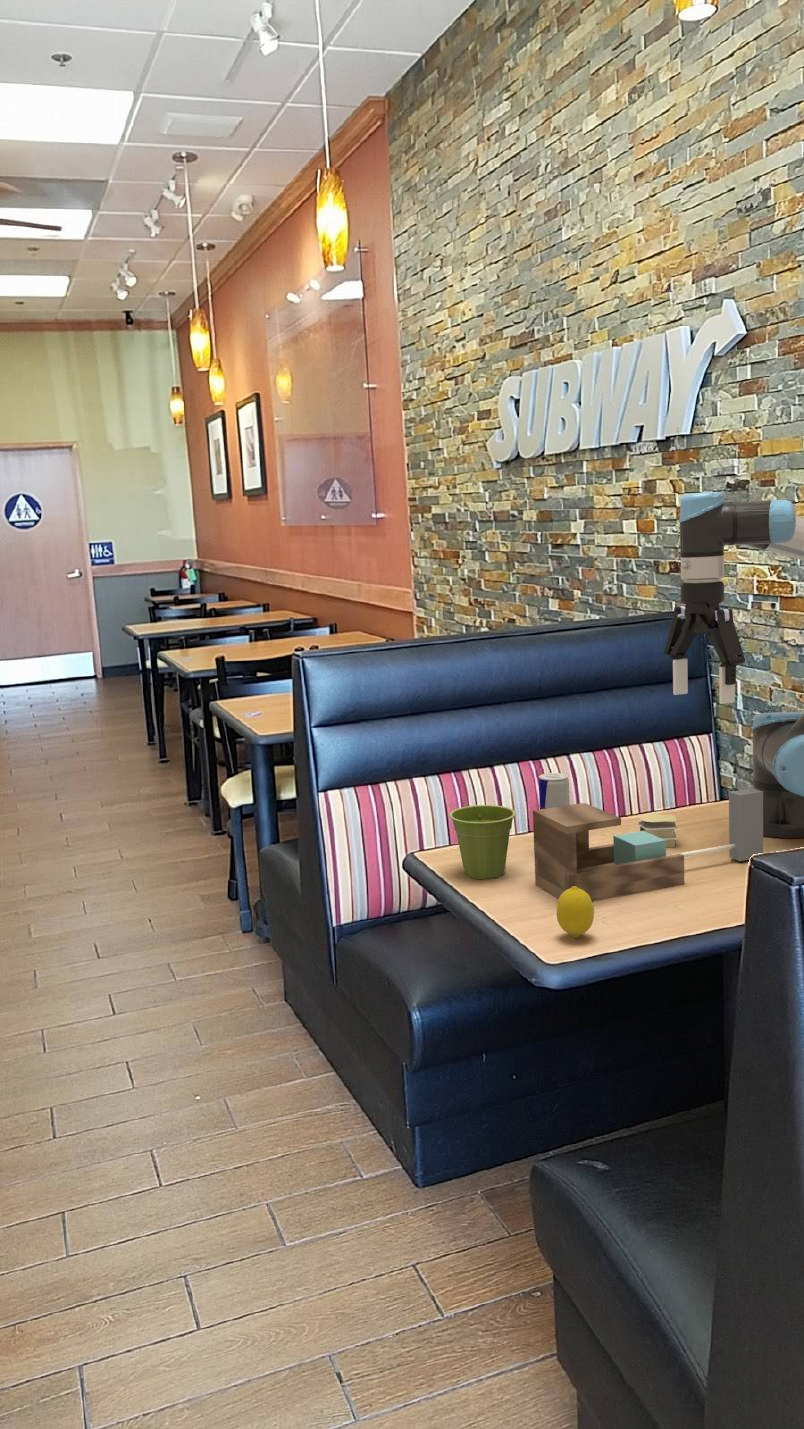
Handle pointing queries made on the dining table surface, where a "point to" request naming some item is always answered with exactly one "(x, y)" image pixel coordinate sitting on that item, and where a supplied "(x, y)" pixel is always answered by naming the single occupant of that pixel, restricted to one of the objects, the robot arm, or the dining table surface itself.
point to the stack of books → (659, 827)
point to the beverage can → (553, 790)
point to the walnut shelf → (592, 856)
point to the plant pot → (483, 838)
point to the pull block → (741, 847)
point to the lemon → (575, 911)
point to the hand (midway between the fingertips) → (703, 698)
